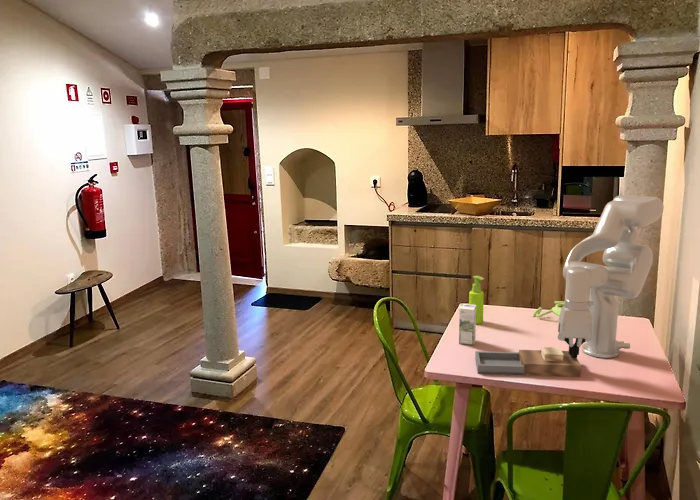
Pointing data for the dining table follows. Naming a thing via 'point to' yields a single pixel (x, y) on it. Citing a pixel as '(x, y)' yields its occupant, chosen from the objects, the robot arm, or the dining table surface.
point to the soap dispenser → (477, 299)
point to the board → (549, 364)
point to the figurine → (554, 309)
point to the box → (498, 363)
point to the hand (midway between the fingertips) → (573, 356)
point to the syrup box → (467, 324)
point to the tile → (552, 354)
